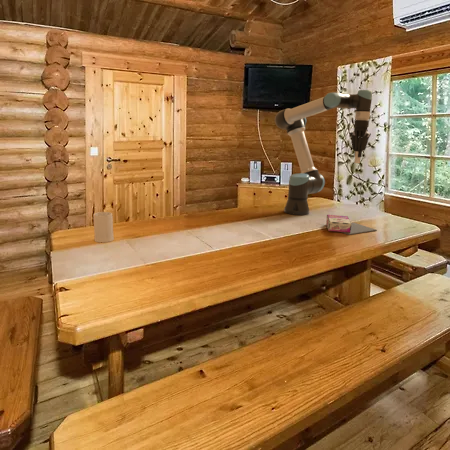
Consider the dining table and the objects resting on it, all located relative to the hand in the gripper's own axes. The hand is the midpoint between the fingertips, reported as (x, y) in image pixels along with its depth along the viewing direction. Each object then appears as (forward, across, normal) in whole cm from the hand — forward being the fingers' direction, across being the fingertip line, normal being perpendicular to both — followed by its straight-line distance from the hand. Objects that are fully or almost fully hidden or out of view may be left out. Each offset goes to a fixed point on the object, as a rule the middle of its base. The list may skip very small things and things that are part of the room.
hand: (357, 163), depth 222 cm
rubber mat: (+32, +17, -17) cm, 40 cm away
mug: (+33, -16, -138) cm, 143 cm away
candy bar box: (+29, +8, -18) cm, 35 cm away
